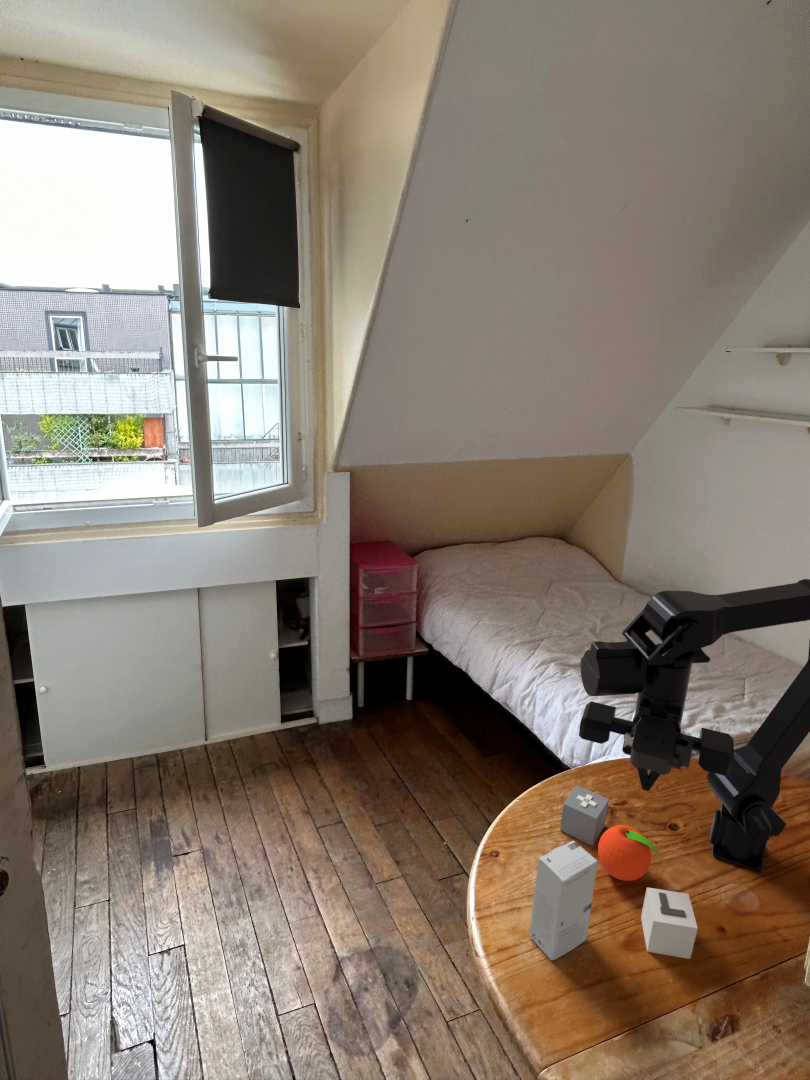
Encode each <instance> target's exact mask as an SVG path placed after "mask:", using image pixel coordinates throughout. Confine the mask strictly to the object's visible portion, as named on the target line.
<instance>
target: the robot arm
mask: <svg viewBox="0 0 810 1080" xmlns="http://www.w3.org/2000/svg"><path fill="white" fill-rule="evenodd" d="M807 621H810V578H803V579H801V580H798V581H797V582H794V583H787V584H781V585H774V586H766V587H760V588H755V589H748V590H741V591H736V592H735V591H734V592H728V593H723V594H722V593H721V594H707V593H701V592H697V591H690V590H662V591H659V592H657V593H655V594H653V595H652V596H651V598H650V600H649V601H648V602H647V603H646V604H645V607H643V609H642V610H641V611H640V612H639V614H637V616H635V617H634V619H633V620H631V622H630V623H629V624H628V625H627V626H626V627H625V628H624V629H623V631H622V632H621V633H622V636H623V637H624V638H625V639H626V641H614V642H613V641H612V642H611V641H610V642H609V641H608V642H607V641H602V640H601V641H600V640H599V641H592V642H591V643H590V649H587V650H586V651H585V652H584V653H583V656H582V657H581V659H580V676H581V677H580V678H581V682H582V685H583V689H584V690H585V693H586V694H587V695H588V696H589V697H604V696H606V697H607V696H623V695H624V696H625V695H626V696H627V695H635V694H637V698H636V705H635V711H634V716H633V718H632V720H630V719H624V718H620V717H616V712H617V707H616V706H612V705H609V704H604V703H600V702H596V701H589V702H588V703H586V704H585V707H584V710H583V713H582V716H581V719H580V725H579V730H578V736H579V737H580V738H581V739H582V740H585V741H590V742H593V743H596V744H601V745H603V744H604V743H607V742H609V740H610V736H611V735H610V734H611V733H615V734H618V735H623V743H622V749H621V750H622V753H623V754H625V755H626V756H627V755H628V756H629V761H630V764H631V766H633V767H634V768H637V773H638V776H639V782H640V785H641V789H642V790H643V791H645V792H649V791H650V790H651V789H652V788H653V786H654V784H655V783H656V781H658V780H659V779H658V778H659V777H661V775H663V776H664V775H668V774H670V773H671V771H672V769H677V770H680V771H681V769H682V767H684V768H689V767H690V763H691V760H692V759H691V758H692V754H694V755H699V756H698V760H697V763H698V765H699V767H700V768H701V769H702V770H703V771H705V772H708V773H707V776H706V780H707V784H708V787H709V788H710V790H711V791H712V792H713V793H714V796H715V798H716V799H718V801H720V803H721V804H720V809H716V810H715V811H714V815H713V819H712V824H711V827H710V834H709V836H710V837H709V842H710V844H712V856H713V857H714V858H716V859H720V860H723V861H725V862H728V863H732V864H735V865H738V866H740V867H744V868H747V869H750V870H753V871H757V872H760V873H762V872H763V870H764V855H765V851H766V847H767V843H768V841H770V839H771V838H772V837H778V836H780V835H781V833H782V832H783V831H784V829H785V828H786V825H787V823H786V821H785V820H784V819H783V818H782V817H781V816H780V814H778V813H777V812H776V811H777V810H775V809H774V808H773V806H774V805H775V803H776V801H777V799H778V797H779V795H780V792H781V777H782V770H783V768H784V766H785V765H786V764H787V763H788V761H789V760H790V758H791V757H792V756H793V755H794V753H796V751H797V749H798V748H799V746H800V745H801V744H802V743H803V741H804V740H805V739H806V738H807V737H808V735H809V734H810V639H808V640H809V641H808V643H809V645H808V654H807V655H808V657H807V658H808V659H807V661H806V663H805V665H803V667H802V669H801V670H800V671H799V672H798V674H797V676H796V677H795V678H794V680H793V681H792V682H791V684H790V685H789V686H788V687H787V689H786V690H785V692H784V693H783V694H782V696H781V697H780V699H779V700H778V701H777V703H776V704H775V705H774V707H773V708H772V710H771V711H770V713H769V714H768V715H767V716H766V718H765V719H764V721H763V722H762V723H761V724H760V726H759V728H758V729H757V730H756V731H755V732H754V734H753V736H752V737H751V738H750V740H749V741H748V742H747V743H746V744H745V745H742V746H740V747H736V748H735V744H734V738H733V737H732V735H731V734H730V733H726V732H722V731H719V730H713V729H709V728H705V727H701V728H700V731H699V737H696V736H692V735H689V734H686V732H685V730H683V729H682V720H683V716H684V712H685V711H684V710H685V706H686V699H687V695H688V694H687V693H688V688H689V682H690V678H691V672H692V667H693V664H702V663H703V664H705V663H707V664H708V663H710V661H711V657H710V656H709V655H708V654H706V652H705V651H704V650H703V648H706V647H709V646H712V645H713V644H714V643H716V641H718V640H719V639H720V638H721V637H723V636H724V635H728V634H731V633H736V632H742V631H743V632H744V631H749V630H755V629H762V628H763V629H764V628H768V627H774V626H781V625H786V624H787V625H788V624H793V623H799V622H807ZM648 632H651V633H652V634H653V635H654V636H655V638H657V639H658V640H659V641H660V642H661V643H659V642H658V643H655V642H654V641H653V640H652V639H651V638H650V637H649V636H648V635H647V633H648Z"/></svg>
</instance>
